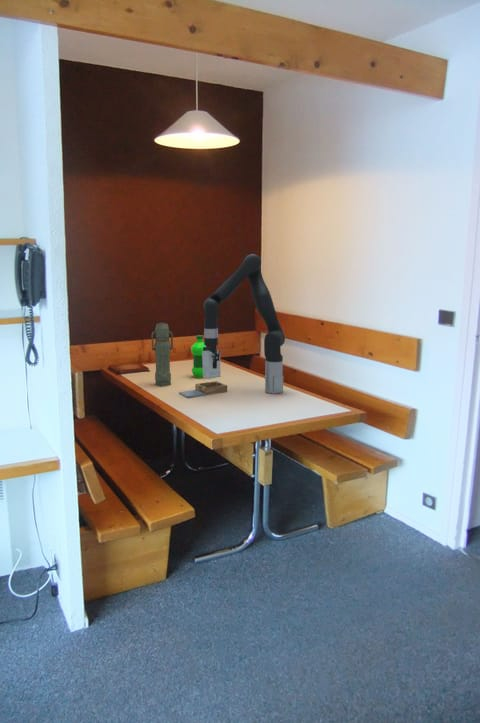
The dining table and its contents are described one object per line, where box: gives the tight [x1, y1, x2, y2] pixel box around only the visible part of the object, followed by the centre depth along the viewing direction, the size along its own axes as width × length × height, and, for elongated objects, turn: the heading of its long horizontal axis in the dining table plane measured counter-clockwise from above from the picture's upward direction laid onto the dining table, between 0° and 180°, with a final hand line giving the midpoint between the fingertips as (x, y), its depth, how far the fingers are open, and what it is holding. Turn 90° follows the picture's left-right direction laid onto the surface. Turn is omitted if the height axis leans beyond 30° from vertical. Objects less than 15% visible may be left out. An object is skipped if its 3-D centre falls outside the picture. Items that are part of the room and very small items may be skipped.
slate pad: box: [178, 389, 206, 399], centre depth 304 cm, size 10×10×1 cm
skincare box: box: [202, 351, 222, 380], centre depth 309 cm, size 8×6×15 cm
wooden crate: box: [195, 380, 228, 396], centre depth 312 cm, size 11×13×4 cm
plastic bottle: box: [190, 334, 206, 379], centre depth 343 cm, size 10×10×25 cm
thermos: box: [151, 322, 174, 387], centre depth 323 cm, size 9×12×35 cm
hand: (211, 367), depth 310 cm, fingers closed on skincare box, 6 cm apart
